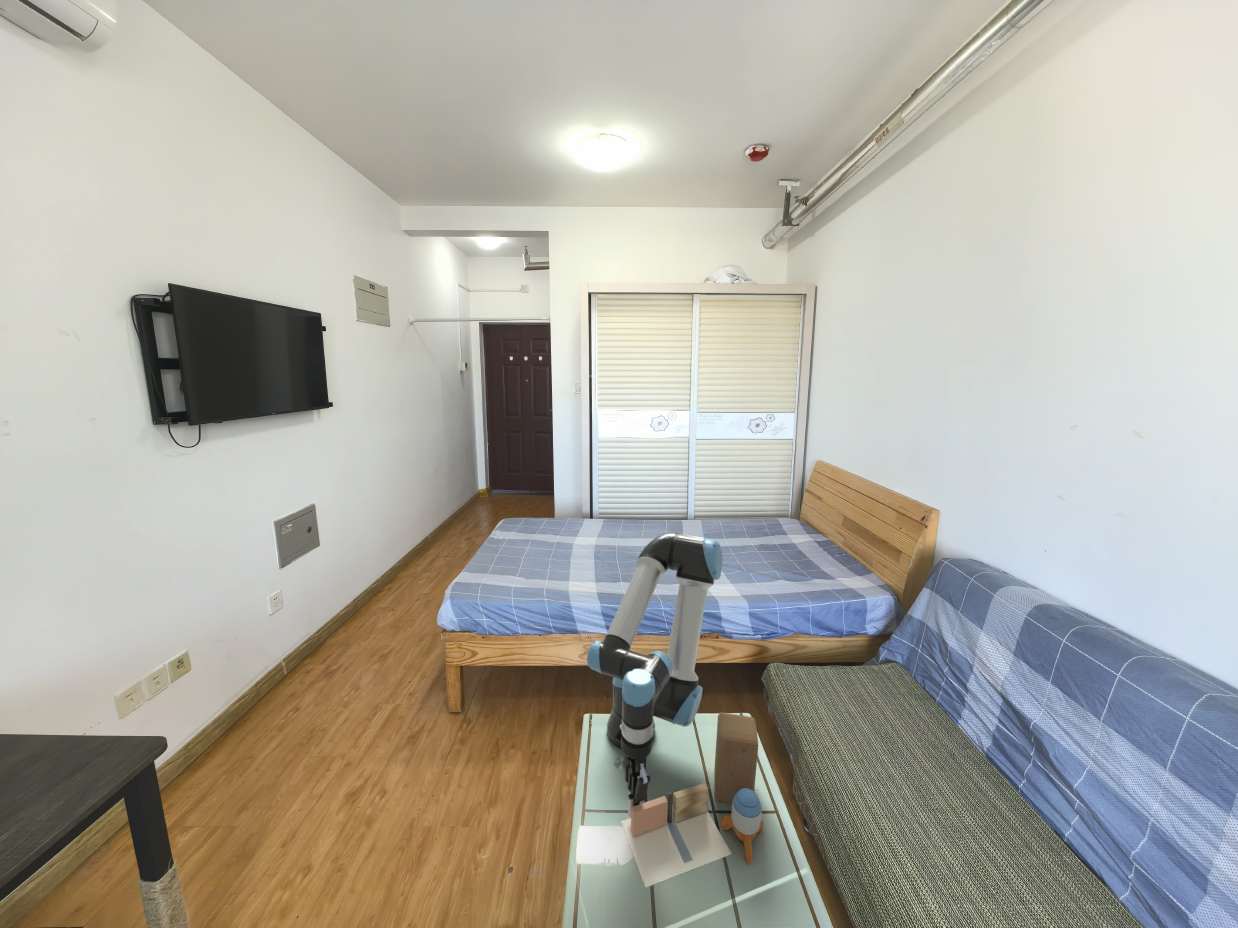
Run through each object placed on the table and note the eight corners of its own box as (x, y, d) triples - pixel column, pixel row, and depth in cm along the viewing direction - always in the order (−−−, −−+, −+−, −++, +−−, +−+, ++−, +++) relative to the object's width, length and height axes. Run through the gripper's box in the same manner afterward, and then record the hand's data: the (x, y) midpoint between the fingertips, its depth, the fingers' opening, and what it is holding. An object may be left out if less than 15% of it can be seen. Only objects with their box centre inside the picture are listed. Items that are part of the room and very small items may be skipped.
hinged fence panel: (663, 818, 116) (664, 795, 115) (666, 824, 115) (667, 801, 114) (630, 830, 113) (631, 807, 112) (633, 836, 112) (633, 812, 110)
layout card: (621, 822, 116) (621, 820, 116) (698, 796, 123) (698, 794, 123) (645, 889, 101) (645, 886, 101) (731, 855, 109) (731, 853, 109)
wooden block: (753, 809, 120) (759, 744, 116) (713, 802, 122) (718, 737, 118) (750, 777, 130) (755, 715, 125) (714, 770, 132) (718, 710, 127)
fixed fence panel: (668, 825, 115) (669, 797, 114) (665, 819, 117) (667, 791, 115) (706, 812, 119) (708, 784, 117) (703, 806, 120) (705, 779, 119)
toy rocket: (714, 835, 114) (721, 775, 114) (748, 825, 119) (754, 767, 119) (741, 870, 105) (749, 805, 105) (777, 858, 110) (784, 795, 110)
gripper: (613, 717, 116) (611, 795, 121) (631, 758, 104) (628, 843, 109) (641, 711, 118) (638, 788, 123) (662, 750, 106) (657, 833, 111)
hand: (633, 813), depth 116 cm, fingers closed
